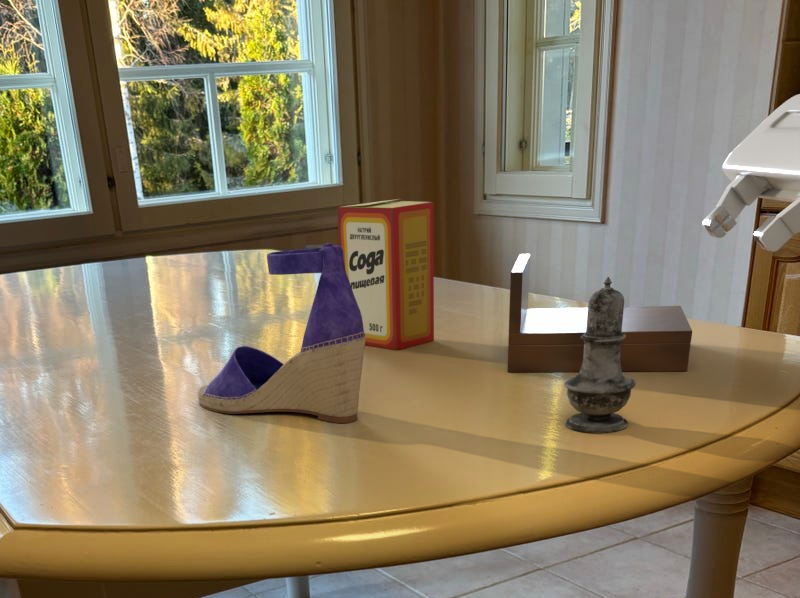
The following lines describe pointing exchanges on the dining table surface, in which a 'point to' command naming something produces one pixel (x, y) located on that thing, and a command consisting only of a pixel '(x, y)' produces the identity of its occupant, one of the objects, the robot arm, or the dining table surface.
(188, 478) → the dining table surface
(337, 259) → the sandal
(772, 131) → the robot arm
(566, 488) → the dining table surface
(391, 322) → the baking soda box
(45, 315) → the dining table surface
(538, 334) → the wooden bookend
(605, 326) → the salt shaker
